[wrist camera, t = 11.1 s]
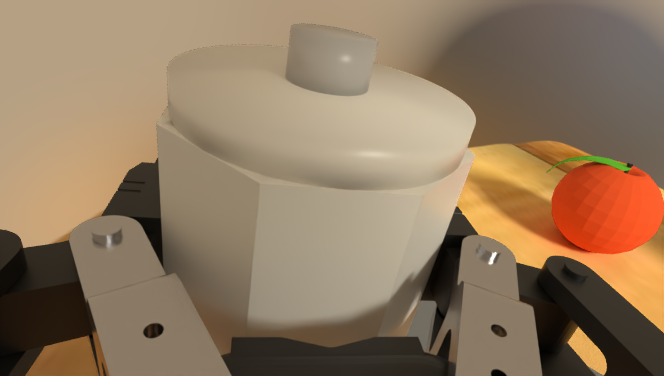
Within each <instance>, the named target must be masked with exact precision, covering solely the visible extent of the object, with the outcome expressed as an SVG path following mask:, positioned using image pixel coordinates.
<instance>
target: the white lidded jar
mask: <svg viewBox="0 0 664 376" xmlns="http://www.w3.org/2000/svg"><path fill="white" fill-rule="evenodd" d="M377 45H378V41H377V40H376V39H374V38H372V37H370V36H367V35H364V34H361V33H358V32H354V31H350V30H346V29H341V28H336V27H330V26H323V25H316V24H293V25H291V30H290V39H289V47H284V46H272V45H220V46H211V47H204V48H199V49H194V50H190V51H188V52H184V53H182V54H180V55H178V56H176V57H175V58H174V59H172V60H171V61H170V62H169V64H168V66H167V85H168V106H167V108H166V109H165V111H164V113H163V114H162V116H161V117H160V119H159V121H158V122H157V143H158V164H159V185H160V205H161V226H162V247H163V268H164V271H165V273H166V274H170V273H173V272H174V273H176V274H177V276H178V277H179V279H180V280H181V282H182V284H183V286H184V288H185V290H186V292H187V293H188V295H189V297H190V299H191V301H192V303H193V305H194V307H195V308H196V310H197V312H198V314H199V316H200V318H201V320H202V321H203V323H204V325H205V327H206V329H207V331H208V333H209V335H210V336H211V338H212V340H213V342H214V344H215V346H216V348H217V349H218V351H219V353H220V355H224V354H228V353H231V341H232V337H283V338H288V339H292V340H297V341H302V342H306V343H311V344H316V345H320V346H325V347H337V346H341V345H345V344H349V343H353V342H357V341H361V340H365V339H369V338H373V337H406V336H407V334H408V331H409V329H410V326H411V323H412V321H413V318H414V315H415V313H416V310H417V308H418V305H419V302H420V300H421V297H422V294H423V292H424V289H425V287H426V284H427V281H428V279H429V276H430V273H431V271H432V268H433V266H434V263H435V260H436V258H437V255H438V252H439V250H440V247H441V245H442V242H443V239H444V237H445V234H446V231H447V229H448V226H449V224H450V221H451V218H452V216H453V213H454V210H455V208H456V205H457V203H458V200H459V197H460V195H461V192H462V189H463V187H464V184H465V182H466V179H467V176H468V174H469V171H470V168H471V166H472V163H473V161H474V158H475V155H474V154H473V153H472V152H471V151H470V150H469V149H468V148H467V146H468V143H469V141H470V138H471V135H472V132H473V130H474V127H475V124H476V117H475V115H474V113H473V111H472V109H471V108H470V107H469V106H468V105H467V104H466V103H465V102H464V101H463V100H461V99H460V98H459V97H457V96H455V95H454V94H453V93H451V92H449V91H447V90H446V89H444V88H442V87H440V86H438V85H436V84H434V83H432V82H429V81H427V80H425V79H423V78H420V77H417V76H415V75H412V74H409V73H406V72H404V71H401V70H398V69H395V68H391V67H388V66H385V65H381V64H378V63H374V59H375V55H376V50H377Z"/></svg>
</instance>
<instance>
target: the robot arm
mask: <svg viewBox="0 0 664 376" xmlns="http://www.w3.org/2000/svg"><path fill="white" fill-rule="evenodd" d="M420 301H435V302H436V307H435V309H434V312H433V314H432V319H431V324H430V330H429V335H428V341H427V346H426V352H424V350H423V348H422V345H421V343H420V340H419V338H418V337H373V338H369V339H365V340H361V341H357V342H353V343H349V344H345V345H341V346H337V347H325V346H320V345H316V344H311V343H306V342H302V341H297V340H292V339H288V338H283V337H232V341H231V353H228V354H224V355H220V353H219V351H218V349H217V348H216V346H215V344H214V342H213V340H212V338H211V336H210V335H209V333H208V331H207V329H206V327H205V325H204V323H203V321H202V320H201V318H200V316H199V314H198V312H197V310H196V308H195V307H194V305H193V303H192V301H191V299H190V297H189V295H188V293H187V292H186V290H185V288H184V286H183V284H182V282H181V280H180V279H179V277H178V276H177V274H176V273H174V272H173V273H170V274H166V273H165V271H164V268H163V247H162V226H161V205H160V185H159V164H158V158H157V160H156V162H155V163H143V162H142V163H140V164H139V165H137V166H135V167H134V168H132V169H131V170H129V171H128V173H127V175H126V176H125V178H124V180H123V183H121V184H120V186H119V188H118V191H116V193H115V194H114V196H113V198H112V199H111V201H110V203H109V204H108V206H107V207H106V209H105V211H104V212H103V214H102V216H101V217H97V218H93V219H90V220H88V221H85V222H83V223H82V224H80V225H78V226H77V227H76V228H75V229H74V230H73V231H72V232H71V234H70V237H69V240H68V241H64V242H60V243H55V244H48V245H42V246H34V247H27V248H23V246H22V242H21V239H20V237H19V236H18V235H16V234H15V233H13V232H10V231H7V230H0V376H25V375H26V373H27V372H28V370H29V369H30V368H31V366H32V365H33V363H34V362H35V360H36V359H37V357H38V356H39V354H40V353H41V351H42V350H43V348H44V346H47V345H51V344H55V343H59V342H64V341H68V340H72V339H76V338H80V337H84V336H88V340H89V344H90V348H91V351H92V355H93V359H94V363H95V367H96V371H97V374H98V376H596V375H595V374H594V373H593V372H592V371H591V370H590V369H589V367H588V366H587V365H586V364H585V363H584V362H583V360H582V359H581V358H580V357H579V356H578V355H577V353H576V352H575V351H574V350H573V349H572V348H571V347H570V345H569V344H568V343H567V342H568V341H569V339H570V338H571V336H572V335H573V333H574V332H575V330H576V329H577V327H579V328H580V329H581V330H582V331H583V332H584V333H585V334H586V335H587V336H588V337H589V338H590V340H591V341H592V342H593V343H594V344H595V345H596V346H597V347H598V348H599V349H600V350H601V352H602V353H603V355H604V357H605V359H606V363H607V371H606V373H605V375H604V376H664V333H663V332H662V331H661V330H660V329H658V328H657V327H656V326H655V325H654V324H653V323H652V322H651V321H649V320H648V319H647V318H646V317H645V316H644V315H643V314H642V313H640V312H639V311H638V310H637V309H636V308H635V307H634V306H633V305H631V304H630V303H629V302H628V301H627V300H626V299H625V298H623V297H622V296H621V295H620V294H619V293H618V292H617V291H616V290H614V289H613V288H612V287H611V286H610V285H609V284H608V283H607V282H605V281H604V280H603V279H602V278H601V277H600V276H599V275H598V274H596V273H595V272H594V271H593V270H592V269H590V268H589V267H587V266H586V265H584V264H582V263H580V262H578V261H576V260H574V259H571V258H568V257H564V256H551V257H549V258H547V260H546V262H545V264H544V265H543V267H542V269H539V268H535V267H531V266H527V265H524V264H520V263H516V259H515V256H514V254H513V253H512V252H511V251H510V250H509V249H508V248H507V247H506V246H505V245H503V244H502V243H500V242H498V241H496V240H494V239H491V238H489V237H485V236H480V235H478V233H477V232H476V231H475V229H474V228H473V227H472V225H471V224H470V223H469V221H468V220H467V218H466V217H465V216H464V215H462V212H461V210H460V209H459V208H458V207H456V208H455V210H454V213H453V216H452V218H451V221H450V224H449V226H448V229H447V231H446V234H445V237H444V239H443V242H442V245H441V247H440V250H439V252H438V255H437V258H436V260H435V263H434V266H433V268H432V271H431V273H430V276H429V279H428V281H427V284H426V287H425V289H424V292H423V294H422V297H421V300H420Z"/></svg>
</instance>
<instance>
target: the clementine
mask: <svg viewBox="0 0 664 376" xmlns="http://www.w3.org/2000/svg"><path fill="white" fill-rule="evenodd" d="M577 160H588V161H594V162H590V163H586V164H584V165H581V166H579V167H577V168H574V169H573V170H572V171H570V172H569V173H568V174H567V175H565V176H564V177H563V178H562V180H561V181H560V182H559V184H558V185H557V186H556V188H555V190H554V193H553V196H552V216H553V219H554V222H555V224H556V226H557V228H558V229H559V230H560V232H561V233H562V234H563V235H564V236H565V237H566V239H568V240H569V241H570V242H572V243H573V244H575V245H576V246H578V247H580V248H582V249H585V250H588V251H590V252H595V253H603V254H617V253H622V252H627V251H631V250H633V249H635V248H637V247H638V246H640V245H642V244H644V243H646V242H647V241H648V240H649V239H650V238H651V237H652V236H653V235H654V234H655V233H656V232H657V230H658V228H659V226H660V224H661V222H662V219H663V213H664V201H663V198H662V194H661V191H660V190H659V188H658V187H657V185H656V184H655V182H654V181H653V179H652V178H651V177H650V176H649V175H648V174H647V173H645V172H644V171H642V170H640V169H638V168H636V167H634V166H633V165H632V164H629V163H627V164H625V163H623V162H618V161H614V160H611V159H608V158H603V157H596V156H582V157H575V158H569V159H567V160H564V161H562V162H559V163H557V164H556V165H555V166H557V165H558V164H561V163H564V162H568V161H577ZM555 166H554V167H555ZM554 167H552V168H554ZM552 168H551V169H552ZM551 169H550V170H551ZM550 170H548V171H550ZM548 171H547V172H548Z"/></svg>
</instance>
